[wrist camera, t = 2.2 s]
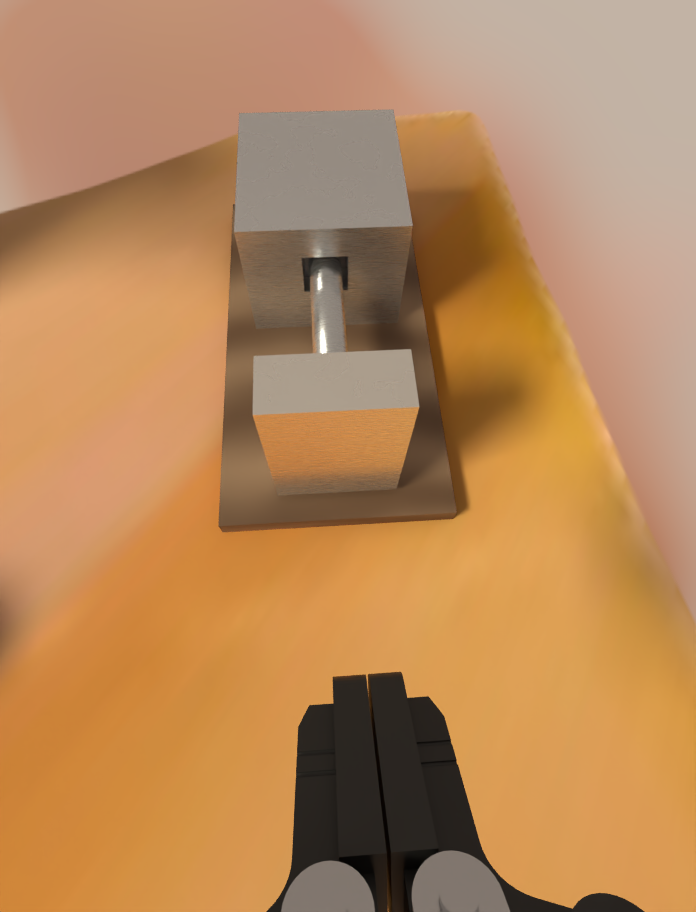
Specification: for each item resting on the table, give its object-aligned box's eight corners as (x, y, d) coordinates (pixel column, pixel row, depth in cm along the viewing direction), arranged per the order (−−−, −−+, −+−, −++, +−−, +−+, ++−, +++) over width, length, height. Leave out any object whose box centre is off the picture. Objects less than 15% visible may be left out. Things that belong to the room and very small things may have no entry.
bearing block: (397, 322, 36) (413, 225, 28) (256, 328, 35) (234, 232, 28) (383, 216, 40) (393, 109, 33) (257, 221, 40) (239, 113, 32)
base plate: (452, 518, 31) (457, 512, 30) (223, 532, 30) (218, 526, 29) (403, 211, 42) (405, 198, 41) (236, 217, 42) (233, 204, 41)
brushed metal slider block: (396, 489, 30) (419, 406, 21) (277, 495, 29) (252, 415, 21) (367, 234, 39) (375, 104, 30) (276, 237, 38) (258, 106, 30)
